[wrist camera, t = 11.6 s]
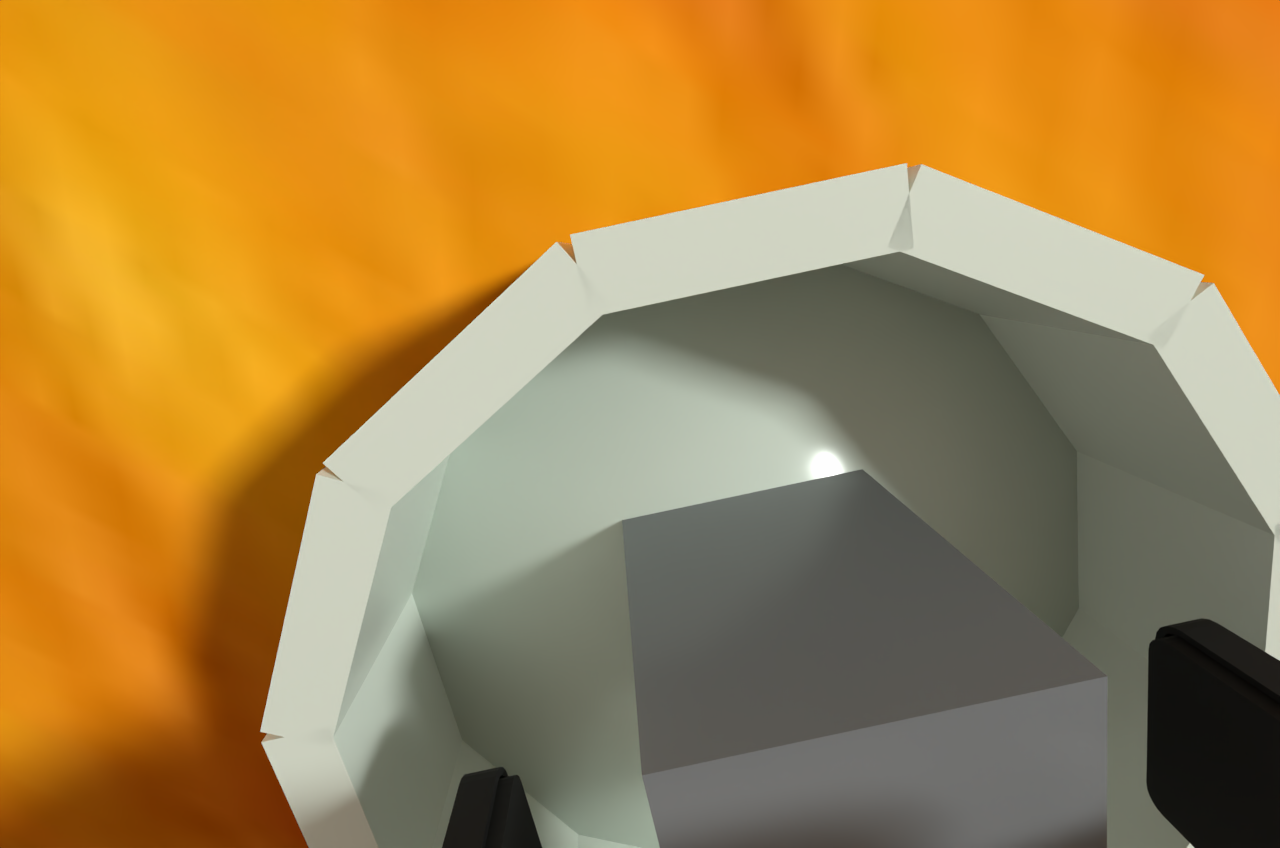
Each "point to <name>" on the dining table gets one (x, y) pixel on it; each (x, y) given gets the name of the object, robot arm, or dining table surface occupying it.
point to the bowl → (762, 482)
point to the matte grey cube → (851, 683)
